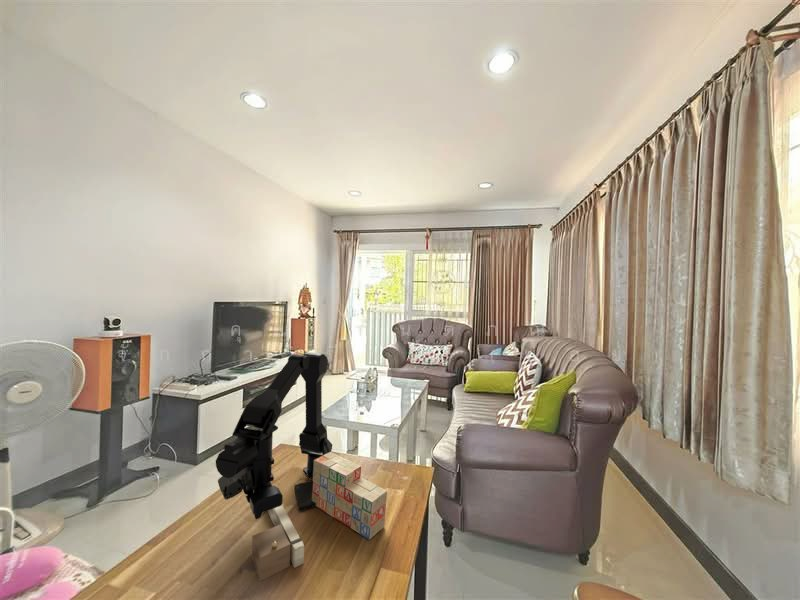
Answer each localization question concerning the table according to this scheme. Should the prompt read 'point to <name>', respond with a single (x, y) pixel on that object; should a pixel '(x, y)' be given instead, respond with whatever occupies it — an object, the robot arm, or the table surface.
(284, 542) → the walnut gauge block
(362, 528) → the stack of blocks
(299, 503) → the handheld gaming console
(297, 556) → the rail
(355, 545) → the table surface
